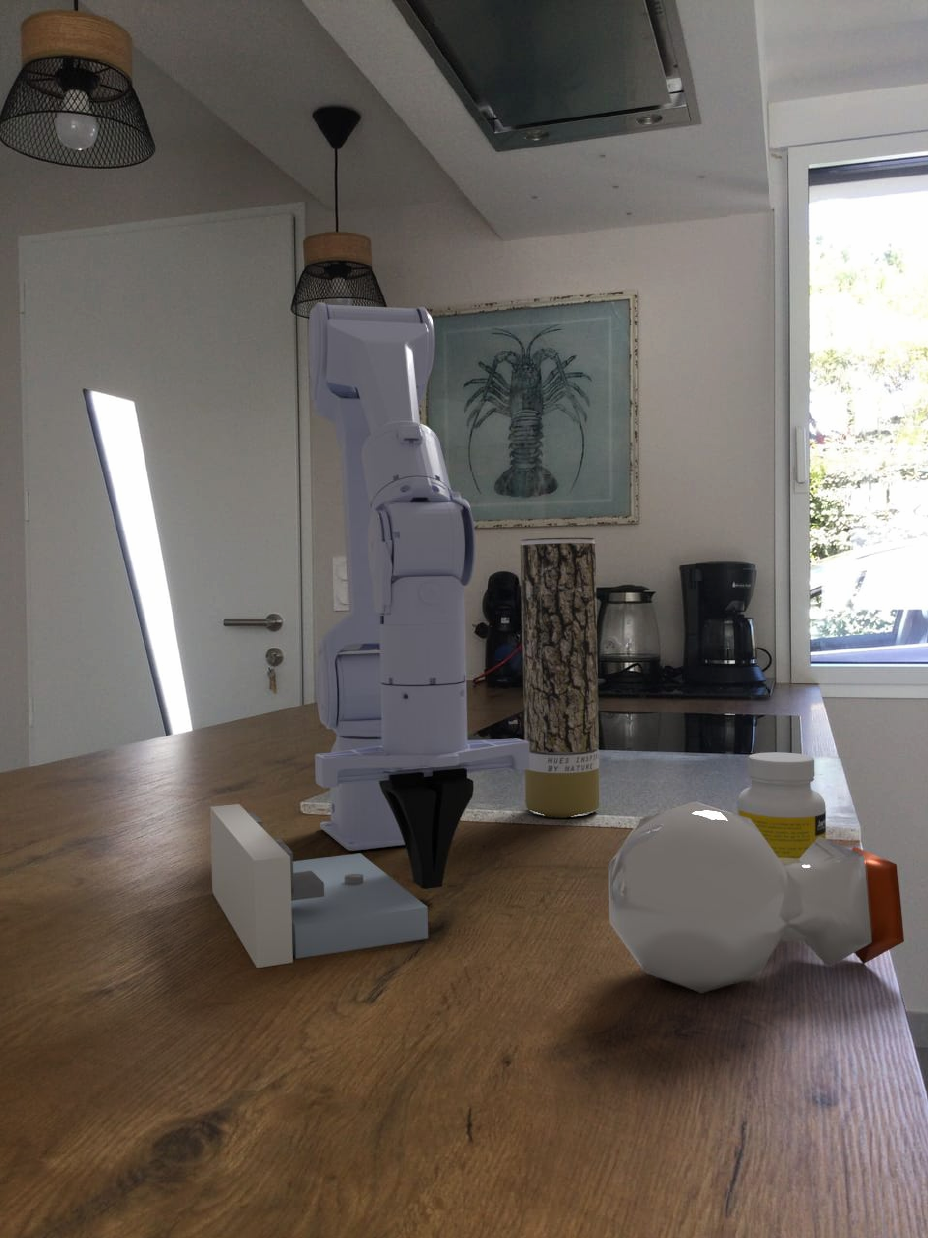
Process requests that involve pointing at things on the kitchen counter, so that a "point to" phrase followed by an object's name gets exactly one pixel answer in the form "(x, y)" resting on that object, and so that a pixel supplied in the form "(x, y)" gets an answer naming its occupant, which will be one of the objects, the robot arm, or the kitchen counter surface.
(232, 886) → the side panel
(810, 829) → the supplement bottle
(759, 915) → the potion bottle
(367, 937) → the door
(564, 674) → the paper tube
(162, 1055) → the kitchen counter surface
